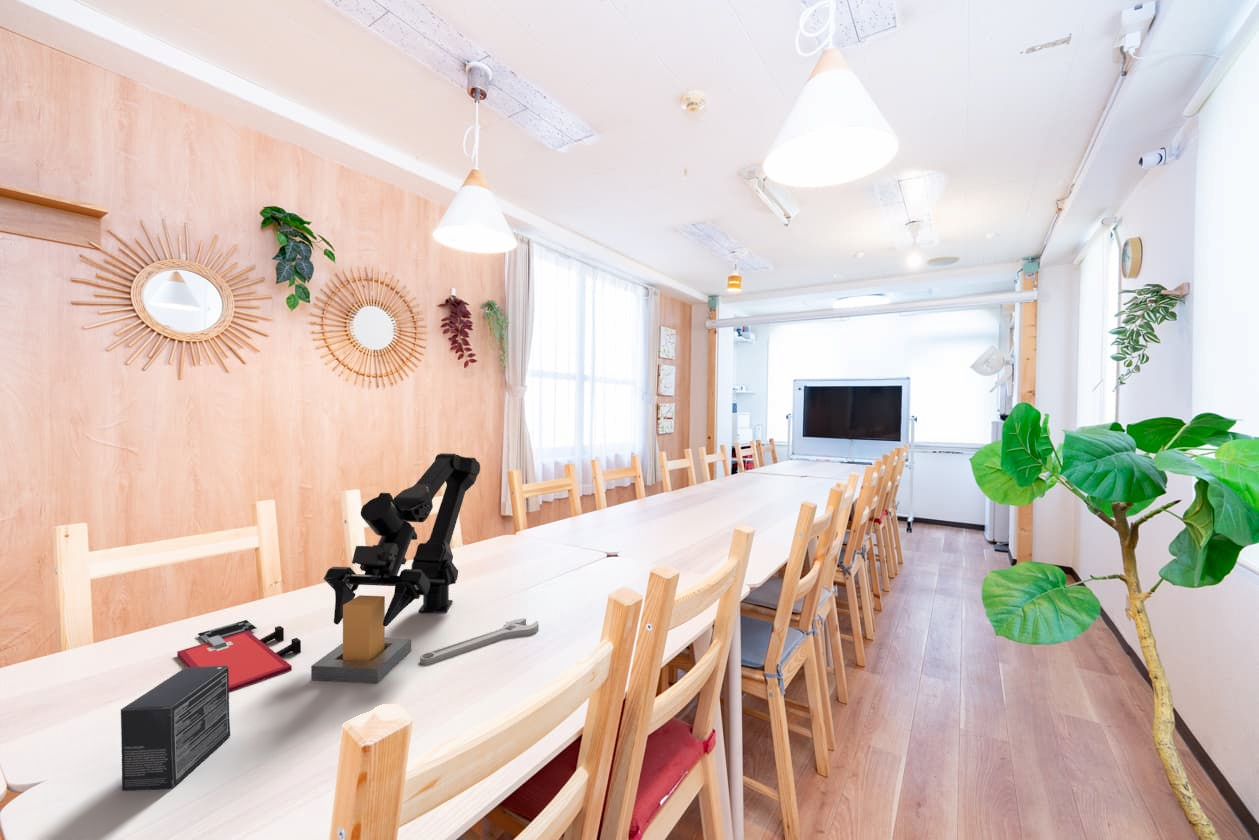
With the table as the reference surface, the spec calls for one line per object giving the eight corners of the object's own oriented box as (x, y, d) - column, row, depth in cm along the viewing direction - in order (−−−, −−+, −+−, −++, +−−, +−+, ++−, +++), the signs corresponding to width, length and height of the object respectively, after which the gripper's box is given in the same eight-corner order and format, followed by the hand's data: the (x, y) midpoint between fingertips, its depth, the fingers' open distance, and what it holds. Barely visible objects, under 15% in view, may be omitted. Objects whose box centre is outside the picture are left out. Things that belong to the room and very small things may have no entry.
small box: (184, 737, 73) (184, 665, 73) (232, 735, 74) (232, 664, 74) (116, 792, 63) (116, 707, 63) (173, 789, 64) (173, 706, 63)
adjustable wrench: (423, 669, 95) (423, 659, 95) (412, 655, 100) (412, 646, 100) (542, 632, 111) (542, 624, 111) (527, 622, 116) (527, 614, 116)
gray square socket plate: (352, 648, 101) (352, 635, 101) (411, 650, 101) (411, 638, 100) (311, 680, 89) (311, 665, 89) (377, 683, 89) (377, 668, 89)
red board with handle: (256, 621, 114) (167, 646, 102) (256, 608, 114) (167, 632, 102) (314, 664, 96) (214, 702, 84) (314, 650, 96) (213, 685, 84)
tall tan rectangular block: (359, 657, 98) (359, 595, 97) (384, 658, 97) (384, 596, 97) (342, 671, 93) (342, 605, 92) (369, 672, 92) (369, 606, 92)
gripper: (330, 525, 99) (288, 603, 88) (423, 528, 98) (393, 607, 87) (354, 554, 107) (318, 629, 96) (441, 557, 106) (415, 633, 95)
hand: (360, 624), depth 93 cm, fingers open, 9 cm apart
